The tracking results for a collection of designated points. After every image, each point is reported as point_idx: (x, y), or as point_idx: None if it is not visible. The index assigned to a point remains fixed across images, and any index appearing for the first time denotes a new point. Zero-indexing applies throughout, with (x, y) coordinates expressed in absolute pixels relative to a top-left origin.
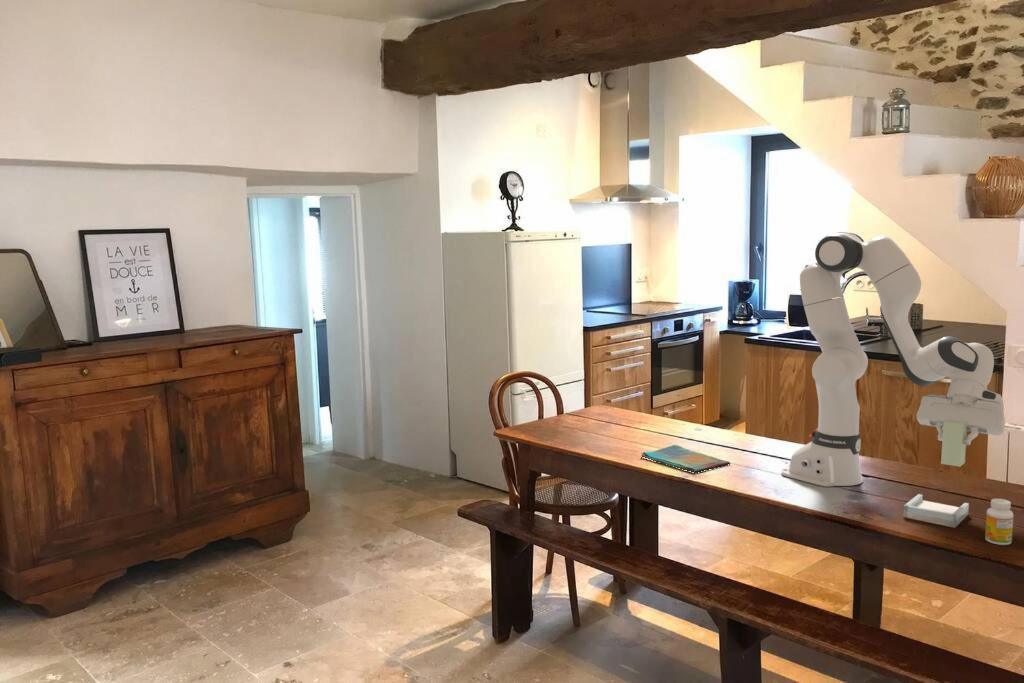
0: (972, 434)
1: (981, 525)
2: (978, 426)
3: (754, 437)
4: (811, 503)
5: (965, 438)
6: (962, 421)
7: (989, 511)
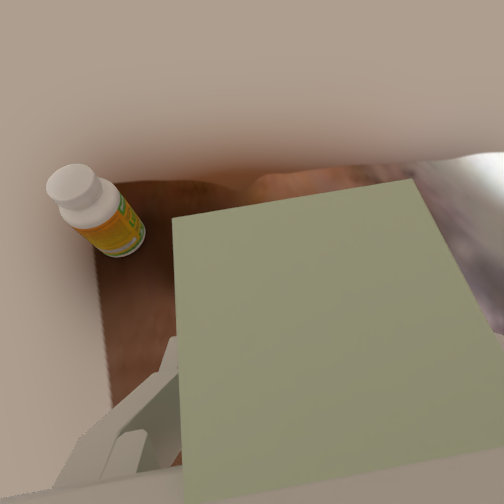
0: (137, 391)
1: (173, 305)
2: (12, 497)
3: None
4: (492, 171)
5: None
6: (256, 448)
7: (107, 180)
